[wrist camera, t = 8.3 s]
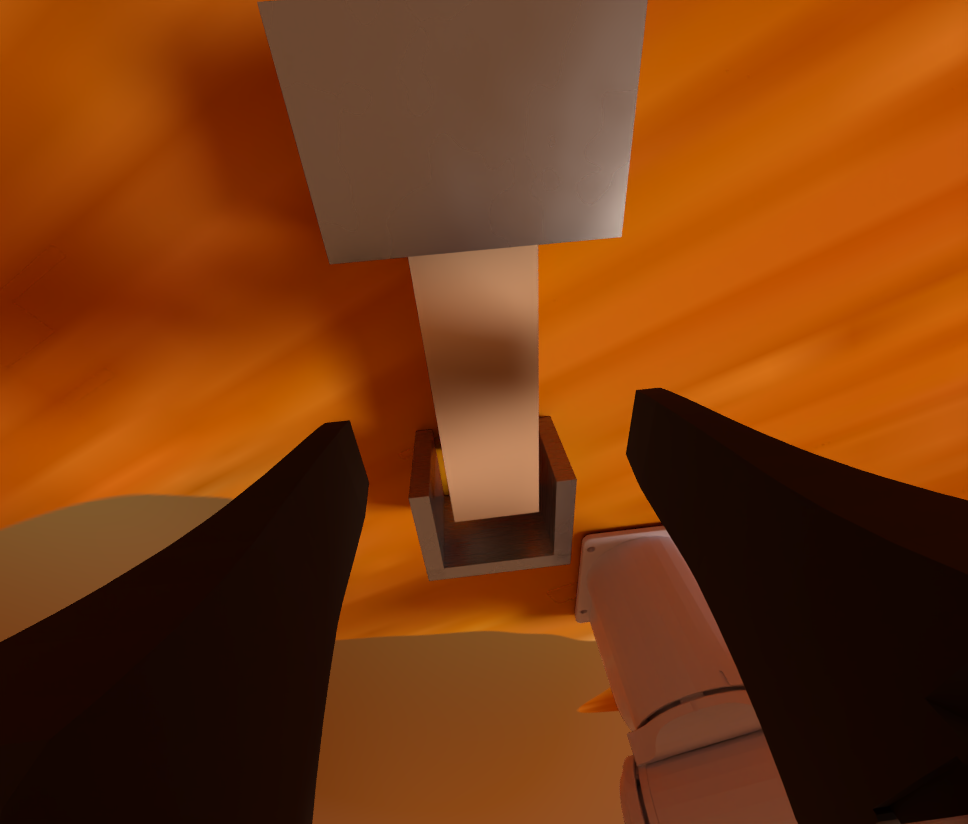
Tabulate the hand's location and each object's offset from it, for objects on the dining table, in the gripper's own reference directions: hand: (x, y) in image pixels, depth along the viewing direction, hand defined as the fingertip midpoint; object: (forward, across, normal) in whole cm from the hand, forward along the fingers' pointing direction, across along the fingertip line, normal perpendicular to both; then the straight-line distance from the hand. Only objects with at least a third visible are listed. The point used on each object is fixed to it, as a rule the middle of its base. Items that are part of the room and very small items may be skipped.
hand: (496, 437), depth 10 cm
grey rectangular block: (+8, 0, -6) cm, 10 cm away
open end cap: (+8, 0, +8) cm, 11 cm away
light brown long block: (+8, 0, 0) cm, 8 cm away
